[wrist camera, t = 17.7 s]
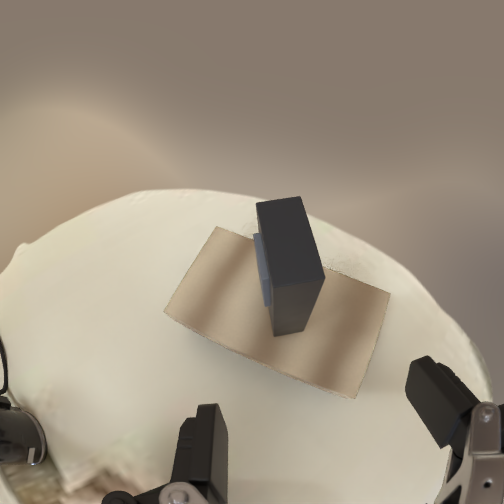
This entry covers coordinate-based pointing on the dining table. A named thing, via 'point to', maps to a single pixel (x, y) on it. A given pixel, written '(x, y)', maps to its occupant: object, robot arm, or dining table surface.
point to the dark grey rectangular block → (287, 264)
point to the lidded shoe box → (259, 323)
